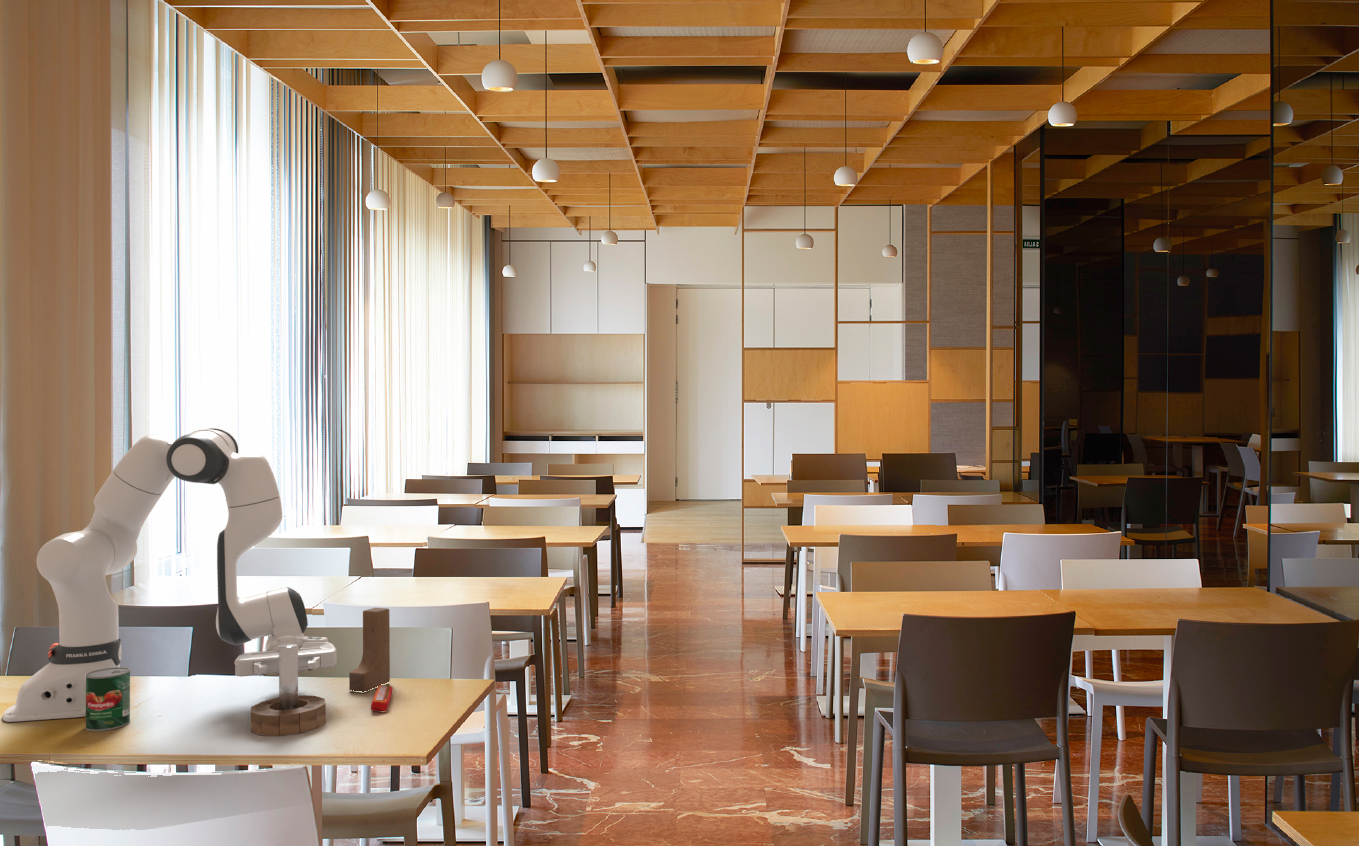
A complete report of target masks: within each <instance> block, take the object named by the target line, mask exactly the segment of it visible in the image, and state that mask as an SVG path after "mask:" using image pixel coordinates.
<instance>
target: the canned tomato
mask: <svg viewBox="0 0 1359 846" xmlns="http://www.w3.org/2000/svg"><path fill="white" fill-rule="evenodd" d="M130 718H131V668H129V667H125V666H124V667H123V666H122V667H121V666H120V667H115V668H105V669H100V670H95V671H92V672H89V673H87V674H86V716H85V727H84V728H85V731H88V732H106V730H107V731H111V730H117V729H120V728H119V727H121V728H123V726H124V727H126V726H127V724H128V725H129V724H130V723H131V719H130ZM125 725H126V726H125Z"/></svg>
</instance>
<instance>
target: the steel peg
mask: <svg viewBox="0 0 1359 846" xmlns="http://www.w3.org/2000/svg"><path fill="white" fill-rule="evenodd" d="M298 695H299V673H298V645H293V644H292V645H283V646H280V647H279V676H278V698H279V710H291V709H297V708H298Z"/></svg>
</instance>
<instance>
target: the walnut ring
mask: <svg viewBox="0 0 1359 846" xmlns="http://www.w3.org/2000/svg"><path fill="white" fill-rule="evenodd" d="M326 706H327V704H326V698H325V697H321V696H316V695H304V694H303V695H302V694H301V695H299V694H298V708H297V709H291V710H279V697H276V698H271V699H266V700H263V701H260V702H258V703H256V704H254V705H252V706H251V708H250V732H251V733H253V734H257V735H259V736H263V737H264V736H266V737H267V736H270V737H272V736H273V737H282V736H287V735H289V736H290V735H296V734H297V735H298V734H301V733H305V732H309V731H313V730H316V729H317V728H318V729H319V728H320V727H321V726H323V725H324V724H326V720H327V719H326V718H327V717H326V716H327V714H326V713H327V712H326V711H327V710H326Z"/></svg>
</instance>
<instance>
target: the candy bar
mask: <svg viewBox="0 0 1359 846" xmlns="http://www.w3.org/2000/svg"><path fill="white" fill-rule="evenodd" d="M393 691H394V688H393V686H391V685H389V684H387V685H379V686H378V688H376V689H375V693H374V696H373V698H372V700H371V705H370V710H371V711H374V712H378V711H386V712H387V711H388V707H389V705H390V702H391V699H392V696H393Z"/></svg>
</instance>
